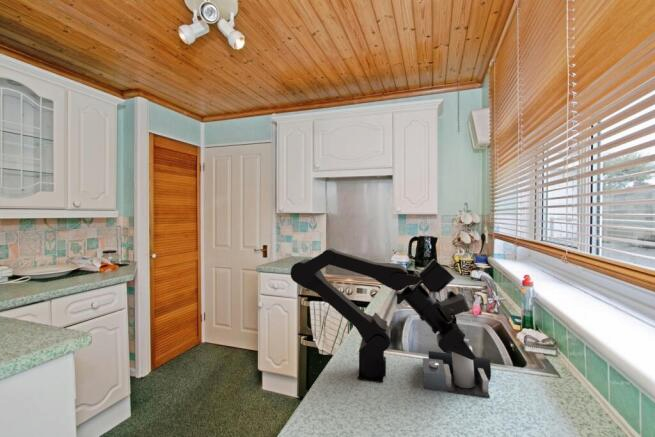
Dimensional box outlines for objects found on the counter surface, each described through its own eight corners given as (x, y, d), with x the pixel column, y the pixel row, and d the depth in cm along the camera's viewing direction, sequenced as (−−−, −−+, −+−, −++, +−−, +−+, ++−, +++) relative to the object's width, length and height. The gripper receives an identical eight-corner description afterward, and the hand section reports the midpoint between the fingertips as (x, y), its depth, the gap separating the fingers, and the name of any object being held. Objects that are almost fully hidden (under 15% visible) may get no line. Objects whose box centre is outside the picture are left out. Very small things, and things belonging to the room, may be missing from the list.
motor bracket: (424, 388, 76) (424, 369, 76) (422, 372, 83) (422, 354, 83) (489, 398, 72) (490, 377, 72) (482, 380, 80) (482, 361, 79)
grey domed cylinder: (458, 388, 75) (454, 342, 75) (451, 378, 79) (447, 335, 80) (478, 387, 74) (474, 341, 75) (470, 377, 79) (466, 334, 80)
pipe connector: (428, 338, 94) (482, 344, 90) (428, 355, 94) (482, 362, 90) (428, 355, 83) (491, 363, 79) (428, 374, 83) (490, 383, 79)
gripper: (455, 293, 68) (509, 347, 66) (443, 276, 86) (486, 318, 84) (417, 325, 70) (469, 379, 68) (414, 302, 88) (454, 344, 86)
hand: (470, 352), depth 77 cm, fingers open, 7 cm apart
